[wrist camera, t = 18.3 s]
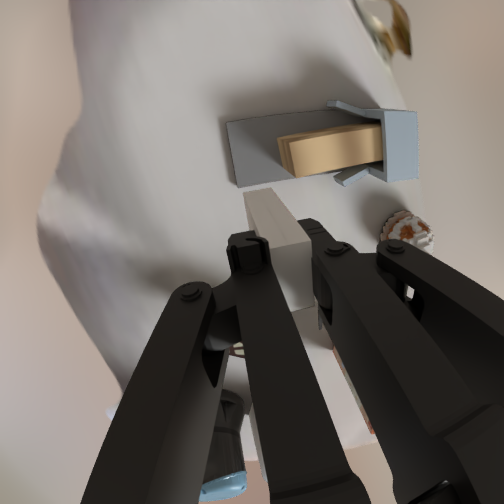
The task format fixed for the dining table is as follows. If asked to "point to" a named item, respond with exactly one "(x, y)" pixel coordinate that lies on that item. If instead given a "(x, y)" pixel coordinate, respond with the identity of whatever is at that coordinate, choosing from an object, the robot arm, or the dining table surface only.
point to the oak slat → (331, 148)
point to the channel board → (272, 127)
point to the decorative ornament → (409, 231)
